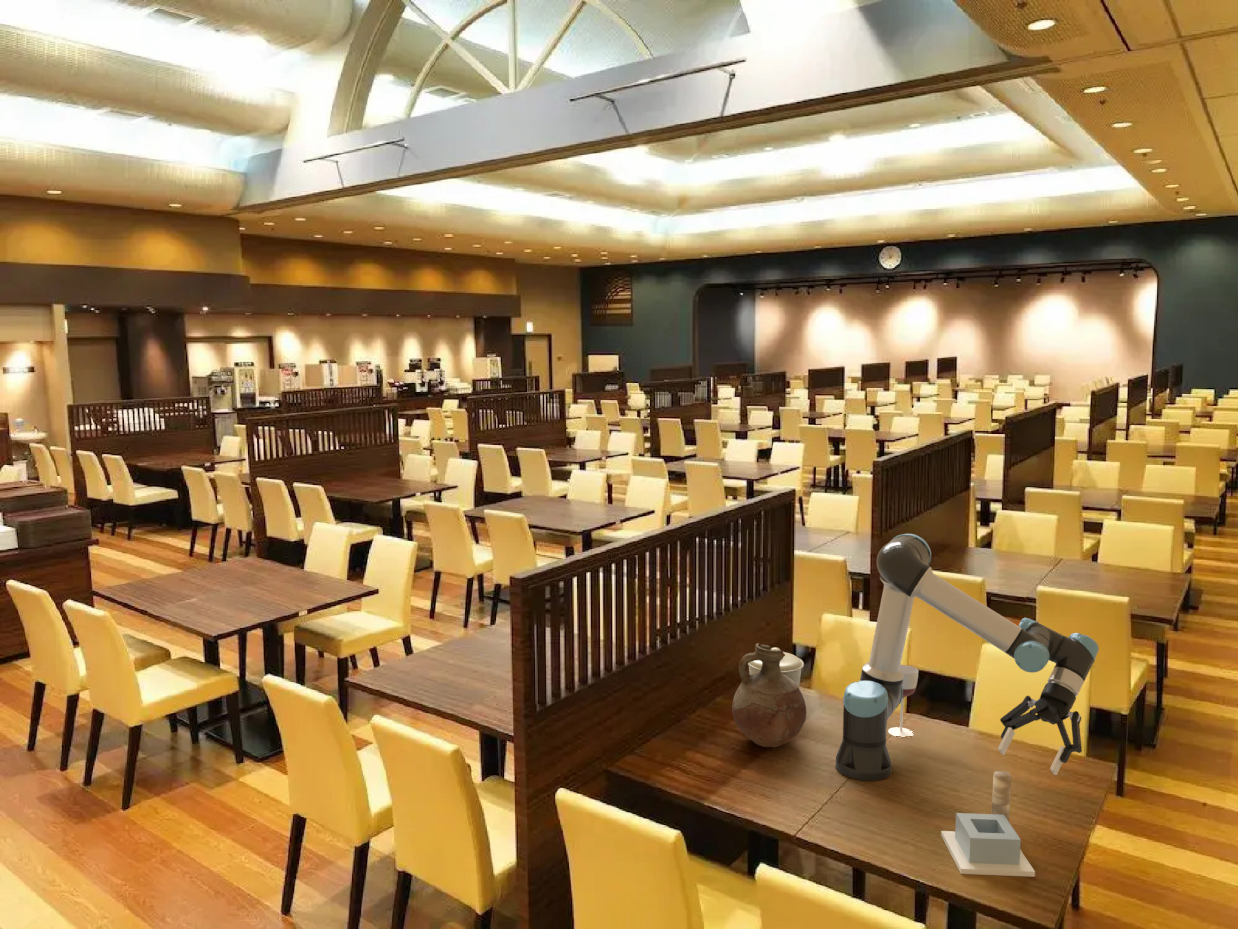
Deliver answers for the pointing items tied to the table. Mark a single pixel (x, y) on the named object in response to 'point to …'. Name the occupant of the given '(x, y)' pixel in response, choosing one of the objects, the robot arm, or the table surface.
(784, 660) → the canister
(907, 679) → the wineglass
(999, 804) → the birch peg
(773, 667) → the jug
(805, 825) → the table surface
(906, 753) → the table surface
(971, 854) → the socket block
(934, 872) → the table surface
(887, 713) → the robot arm
